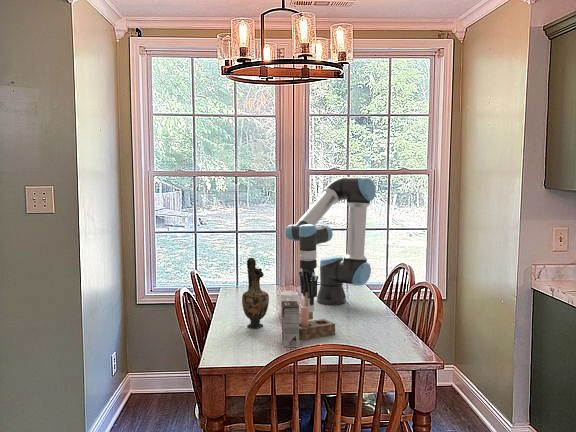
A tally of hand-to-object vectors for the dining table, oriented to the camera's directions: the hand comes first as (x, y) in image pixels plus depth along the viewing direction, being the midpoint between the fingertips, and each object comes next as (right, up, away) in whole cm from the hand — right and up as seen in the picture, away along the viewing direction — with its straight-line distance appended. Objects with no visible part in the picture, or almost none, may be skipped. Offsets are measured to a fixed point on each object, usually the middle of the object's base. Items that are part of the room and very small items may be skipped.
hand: (309, 310), depth 246 cm
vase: (-24, -6, -4) cm, 25 cm away
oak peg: (0, -4, 0) cm, 4 cm away
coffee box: (-9, -8, -29) cm, 31 cm away
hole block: (+1, -7, -17) cm, 19 cm away
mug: (-9, -5, +12) cm, 16 cm away
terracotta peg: (-2, -7, -19) cm, 21 cm away
